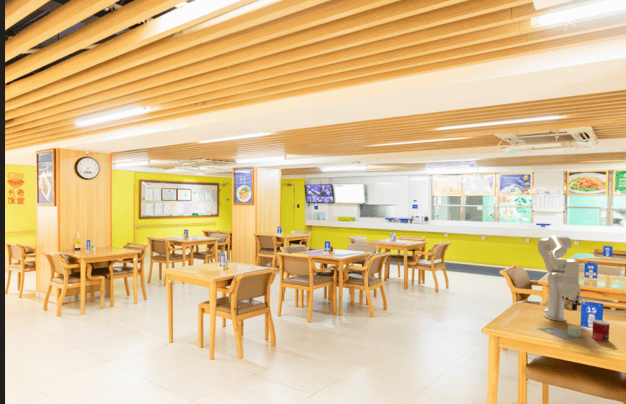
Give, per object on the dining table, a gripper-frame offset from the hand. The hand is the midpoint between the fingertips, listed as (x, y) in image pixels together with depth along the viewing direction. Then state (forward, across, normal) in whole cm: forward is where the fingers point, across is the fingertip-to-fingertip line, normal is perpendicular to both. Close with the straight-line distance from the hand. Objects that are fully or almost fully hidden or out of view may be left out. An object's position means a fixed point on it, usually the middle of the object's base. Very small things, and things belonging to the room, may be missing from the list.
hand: (570, 308), depth 257 cm
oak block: (+1, 0, 0) cm, 1 cm away
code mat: (+13, +7, -15) cm, 21 cm away
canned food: (+14, +21, -1) cm, 25 cm away
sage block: (+13, +12, -10) cm, 20 cm away
